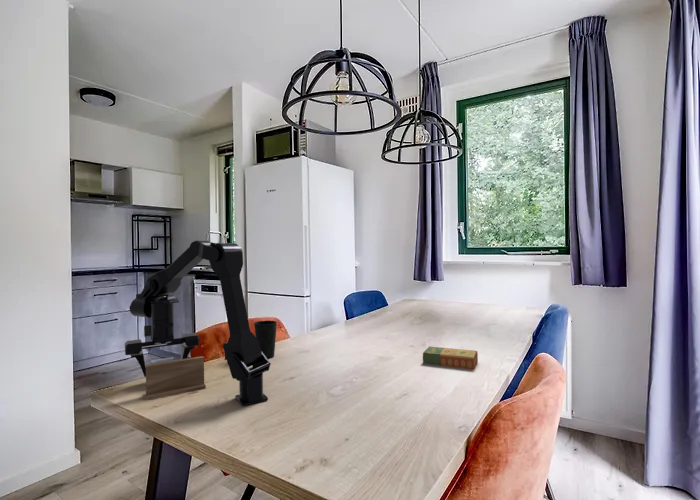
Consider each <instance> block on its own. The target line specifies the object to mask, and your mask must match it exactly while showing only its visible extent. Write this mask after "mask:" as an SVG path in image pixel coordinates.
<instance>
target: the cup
mask: <svg viewBox="0 0 700 500" xmlns="http://www.w3.org/2000/svg"><path fill="white" fill-rule="evenodd" d="M277 323H278V322H277V321H276V320H261V321H255V322H254V323H253V324H254V333H255V334H254V335H255V337H256V338H257V339H258V342H259V345H260V348H261V351H262V352H263V354H264V355H265V356H266V358H267V359H268V360H269V359H270V358H271V359H273V358H274V357H275V351H276V350H275V349H276V340H277V339H276V337H277V325H278V324H277Z"/></svg>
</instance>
